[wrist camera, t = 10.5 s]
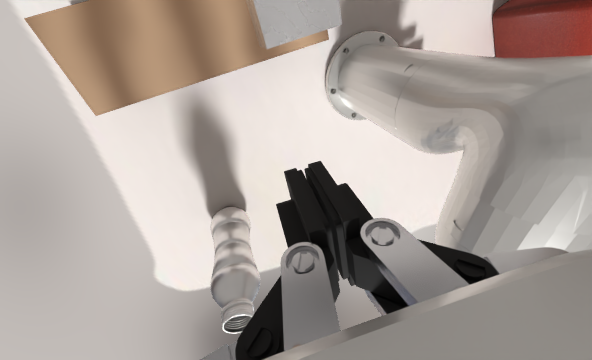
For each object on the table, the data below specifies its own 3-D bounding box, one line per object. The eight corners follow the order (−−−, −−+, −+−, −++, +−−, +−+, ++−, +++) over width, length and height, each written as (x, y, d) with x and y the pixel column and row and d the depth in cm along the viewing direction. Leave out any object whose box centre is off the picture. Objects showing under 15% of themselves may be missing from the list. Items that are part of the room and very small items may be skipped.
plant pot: (575, 45, 47) (727, 54, 33) (483, 108, 48) (590, 141, 35) (587, -82, 36) (821, -148, 22) (469, 6, 38) (615, -4, 24)
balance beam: (307, -59, 23) (313, -64, 22) (323, 38, 28) (328, 39, 26) (35, 19, 21) (24, 18, 19) (101, 111, 25) (95, 115, 24)
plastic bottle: (202, 215, 44) (195, 329, 28) (234, 195, 44) (246, 298, 27) (226, 236, 48) (231, 347, 31) (255, 217, 47) (277, 319, 31)
